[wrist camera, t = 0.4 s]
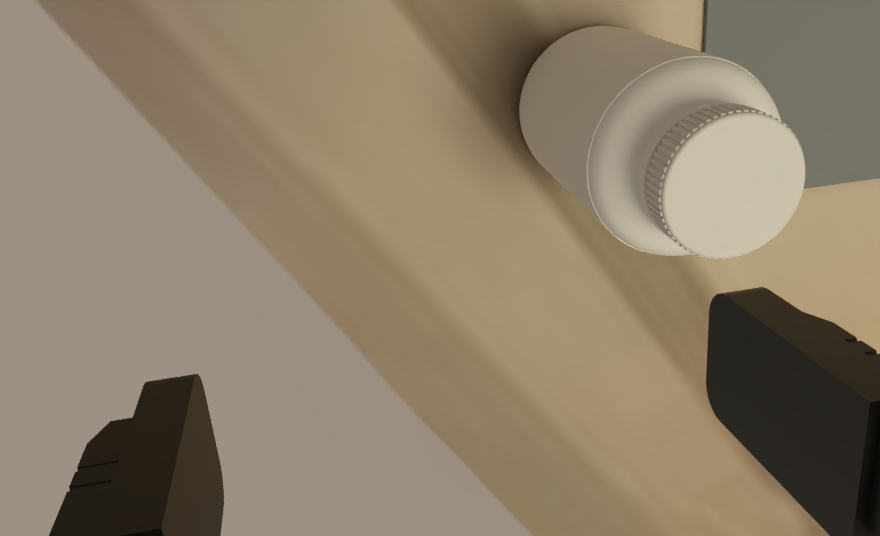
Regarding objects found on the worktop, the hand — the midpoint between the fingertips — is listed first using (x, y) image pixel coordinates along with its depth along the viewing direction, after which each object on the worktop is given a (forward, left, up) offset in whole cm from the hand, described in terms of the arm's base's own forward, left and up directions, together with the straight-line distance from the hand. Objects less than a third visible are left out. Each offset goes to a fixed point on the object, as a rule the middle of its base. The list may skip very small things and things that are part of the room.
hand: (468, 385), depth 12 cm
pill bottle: (-7, +10, -29) cm, 31 cm away
